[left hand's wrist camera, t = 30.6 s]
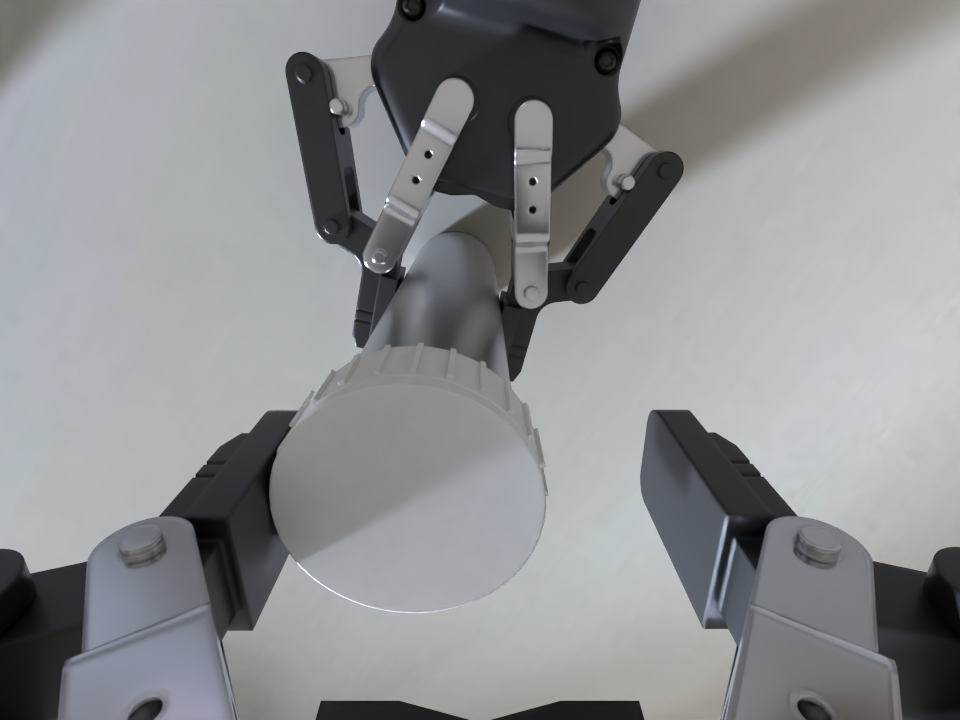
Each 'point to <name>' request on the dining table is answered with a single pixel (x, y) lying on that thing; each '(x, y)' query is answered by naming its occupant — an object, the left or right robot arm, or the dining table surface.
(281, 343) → the dining table surface
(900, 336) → the dining table surface
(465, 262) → the slim metal bottle
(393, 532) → the lid
